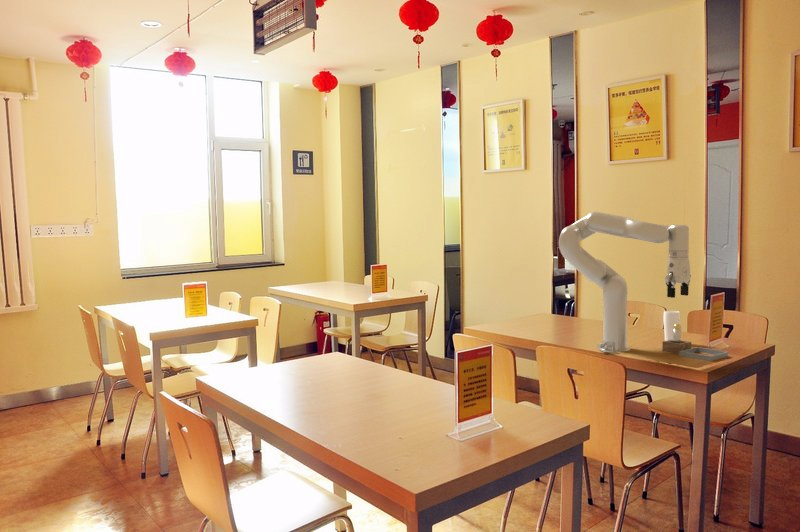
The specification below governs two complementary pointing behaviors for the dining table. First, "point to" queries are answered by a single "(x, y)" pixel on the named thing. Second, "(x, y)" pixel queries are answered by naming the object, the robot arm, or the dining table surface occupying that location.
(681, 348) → the pin block
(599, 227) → the robot arm
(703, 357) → the tray
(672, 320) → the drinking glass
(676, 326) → the pin
